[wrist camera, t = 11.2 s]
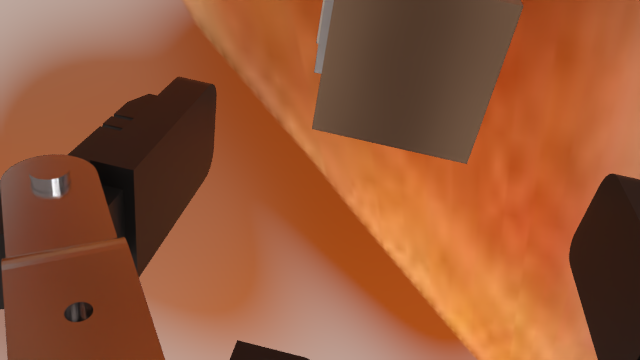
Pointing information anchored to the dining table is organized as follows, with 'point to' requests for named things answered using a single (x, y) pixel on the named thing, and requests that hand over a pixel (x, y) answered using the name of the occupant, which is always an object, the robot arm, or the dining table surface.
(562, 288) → the dining table surface
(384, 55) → the walnut block
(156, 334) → the robot arm
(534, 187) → the dining table surface
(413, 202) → the dining table surface
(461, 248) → the dining table surface
